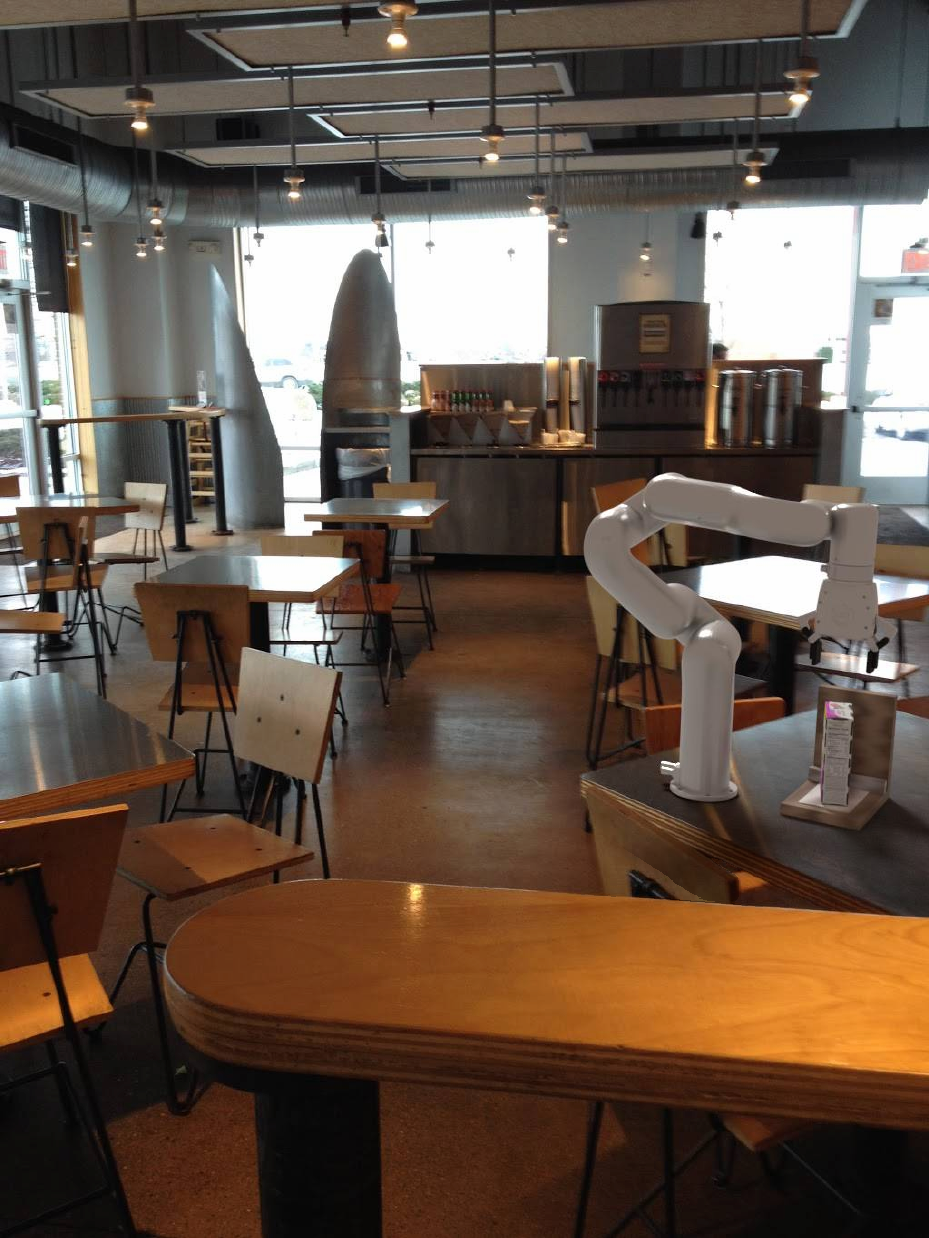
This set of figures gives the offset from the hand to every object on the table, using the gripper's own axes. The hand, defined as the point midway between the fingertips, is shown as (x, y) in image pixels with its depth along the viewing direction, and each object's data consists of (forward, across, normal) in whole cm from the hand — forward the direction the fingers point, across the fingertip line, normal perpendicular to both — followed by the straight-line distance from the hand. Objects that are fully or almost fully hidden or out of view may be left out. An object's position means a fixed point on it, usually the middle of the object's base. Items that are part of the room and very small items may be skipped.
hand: (842, 667), depth 198 cm
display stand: (+26, +1, +1) cm, 26 cm away
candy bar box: (+24, 0, 0) cm, 24 cm away
